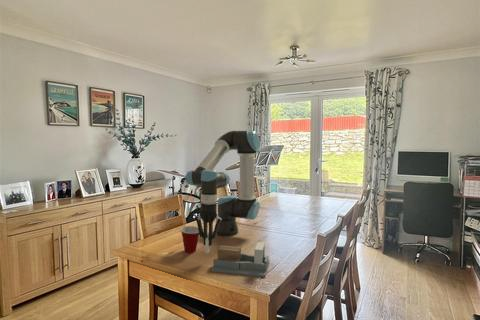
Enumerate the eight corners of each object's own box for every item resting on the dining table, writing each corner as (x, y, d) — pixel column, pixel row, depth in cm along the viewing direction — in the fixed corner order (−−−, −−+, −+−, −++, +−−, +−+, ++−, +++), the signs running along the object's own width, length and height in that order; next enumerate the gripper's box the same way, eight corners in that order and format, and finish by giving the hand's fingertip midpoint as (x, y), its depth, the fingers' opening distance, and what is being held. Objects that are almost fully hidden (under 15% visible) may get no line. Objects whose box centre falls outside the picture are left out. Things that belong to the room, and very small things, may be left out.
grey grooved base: (221, 257, 145) (221, 236, 144) (269, 262, 140) (269, 241, 139) (211, 271, 129) (212, 248, 128) (265, 277, 124) (265, 253, 123)
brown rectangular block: (220, 259, 139) (220, 245, 139) (240, 261, 137) (241, 247, 137) (217, 263, 134) (217, 249, 134) (238, 266, 132) (238, 251, 132)
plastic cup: (195, 256, 146) (195, 232, 145) (176, 253, 149) (176, 230, 148) (204, 248, 156) (204, 227, 155) (186, 246, 159) (186, 224, 158)
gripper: (192, 203, 134) (191, 253, 135) (219, 205, 131) (218, 256, 132) (198, 200, 141) (197, 248, 142) (224, 202, 138) (223, 250, 139)
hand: (207, 252), depth 137 cm, fingers closed
